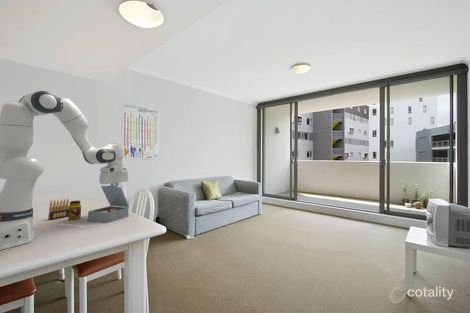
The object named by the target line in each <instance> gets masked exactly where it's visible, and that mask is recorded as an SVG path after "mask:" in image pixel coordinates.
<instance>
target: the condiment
mask: <svg viewBox="0 0 470 313" xmlns="http://www.w3.org/2000/svg"><path fill="white" fill-rule="evenodd" d="M81 216H82V205H81V200H71V201H69V217H68V219H67V221H79V220H81V218H82V217H81Z"/></svg>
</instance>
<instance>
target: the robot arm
mask: <svg viewBox="0 0 470 313" xmlns="http://www.w3.org/2000/svg"><path fill="white" fill-rule="evenodd" d="M48 114H52V115H54V117H56V118H57V119H58V120H59V121H60V123H61V124H62V125H63V126H64V128H65V129H66V130H67V132H68V133H69V134H70V137H71V138H72V139H73V141H74V142H75V143H76V145H77V146H78V148H79V149H80V151H81V153H82V157H83V160H84V161H85V162H86V163H88V164H90V165H96V164H97V165H99V164H100V165H101V164H106V166H104V167H101V168H100V169H99V172H100V173H99V177H98V178H99V180H98V182H99V183H100V185H110V186H116V187H119V185H120V183H125V182H128V180H129V173H128V169H127V168H126V167H124V163H123V158H124V152H123V151H124V150H123V146H122V145H121V144H118V143H113V142H110V143H108V144H107V145H105V146H102V147H94V146H93V145H92V144H91V142H90V140H89V138H88V137H87V136H86V132H87V130H88V127H89V122H88V120H87V118H86V116H85V115H84V114H83V112H82V111H81V110H80V109H79V107H78V106H77V105H76V104H75V103H74V102H73V101H72V100H71V99H69V98H64V97H62V98H61V97H58V96H57V95H56V94H54V93H52V92H50V91H46V90H38V91H33V92H30V93H27V94H26V95H23V96H22V97H21V98H20V99H19V101H18V102H17V101H10V102H6V103H4V104H3V105H2V107H1V110H0V179H2V180H5V182H4V185H3V188H2V189H1V190H0V251H2V250H6V249H10V248H13V247H17V246H22V245H26V244H29V243H32V240H34V239H36V234H35V231H34V226H33V217H34V208H33V196H34V195H33V194H34V189H35V186H36V183H37V181H38V179H39V177H41V175H42V174H43V173H44V170H45V166H44V164H43V163H42V162H41V160H39V159H37V158H34V157H32V156H28V153H29V151H30V148H31V147H32V146H33V144H34V118H35V116H37V117H38V116H45V115H48Z"/></svg>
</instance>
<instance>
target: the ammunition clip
mask: <svg viewBox="0 0 470 313" xmlns="http://www.w3.org/2000/svg"><path fill="white" fill-rule="evenodd" d="M69 206H70V201H69V198H63V200H62V199H60V201H59V199H57V201H56V200H55V199H54V200H53V201H52V200H50V201H49V206H48V207H49V210H48V218H47V219H48V221H54V220H59V219H65V218H69Z"/></svg>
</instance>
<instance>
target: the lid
mask: <svg viewBox="0 0 470 313" xmlns="http://www.w3.org/2000/svg"><path fill="white" fill-rule="evenodd" d="M100 188H101V189H102V192H103V194H104V195H105V198H106V200H107V202H108V204H109V206H115V207H127V208H130V205H129V203H128V200H127V197H126V195H125V193H124V191H123V189H122V186H118V187H116V186H115V185H114V186H111V185H110V184H107V185H101V187H100Z"/></svg>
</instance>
